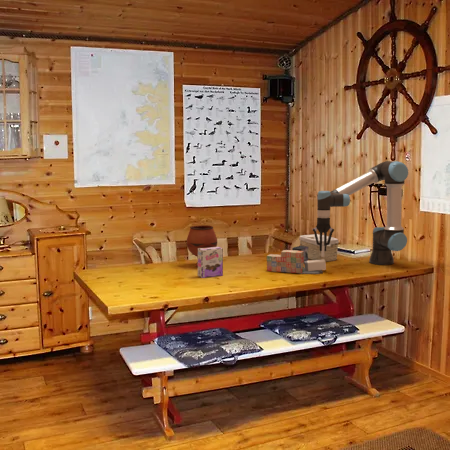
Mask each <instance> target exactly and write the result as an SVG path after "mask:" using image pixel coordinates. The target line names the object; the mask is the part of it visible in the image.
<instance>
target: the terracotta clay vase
mask: <svg viewBox="0 0 450 450" xmlns="http://www.w3.org/2000/svg"><path fill="white" fill-rule="evenodd" d="M189 228H190V229H189V232H188V234H187V238H186V247H187V249H188V250H187V251H189V252H190V253H191V254H192V255H193V256H195V257H197V260H198V248H211V247H218V237H217V235H216V232H215V230H214V225H209V224H207V225H205V224H204V225H203V224H202V225H191V226H190V227H189ZM194 266H195V268H196V267H197V268H198V261H197V262H196V263H195V265H194Z"/></svg>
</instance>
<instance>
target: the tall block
mask: <svg viewBox="0 0 450 450" xmlns="http://www.w3.org/2000/svg"><path fill="white" fill-rule="evenodd" d="M326 262H327V261H326ZM326 262H325V260H311V259H310V260H308V261H304V267H305V271H316V270H322V271H325V270H327V265H326V264H327V263H326Z"/></svg>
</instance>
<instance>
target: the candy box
mask: <svg viewBox="0 0 450 450" xmlns="http://www.w3.org/2000/svg"><path fill="white" fill-rule="evenodd" d="M223 253H224V248H223V247H220V246H217V247H211V248H198V259H197V262H198V267H197V277H199V278H201V279H202V278H203V279H206V278H212V277H221V276H224V263H223V262H224V261H223V260H224V259H223V258H224V255H223Z"/></svg>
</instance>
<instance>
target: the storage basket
mask: <svg viewBox="0 0 450 450" xmlns="http://www.w3.org/2000/svg"><path fill="white" fill-rule="evenodd" d="M317 237H318V241H319V243H320V233H317ZM328 237H329V235H327V241H328ZM339 243H340V241H339V239H338V238H335V237H333V236H332V237H331V240H330V244H329V245H327V246H326V251H324V257H322V256H321V251H320V245H317V243H316V239H315V234H304V235H299V244H300V245H299V246H306V247H308V260H310V261H311V260H325V262H334V261H336V260H337V259H338V248H339ZM322 245H324V234H322Z"/></svg>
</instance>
